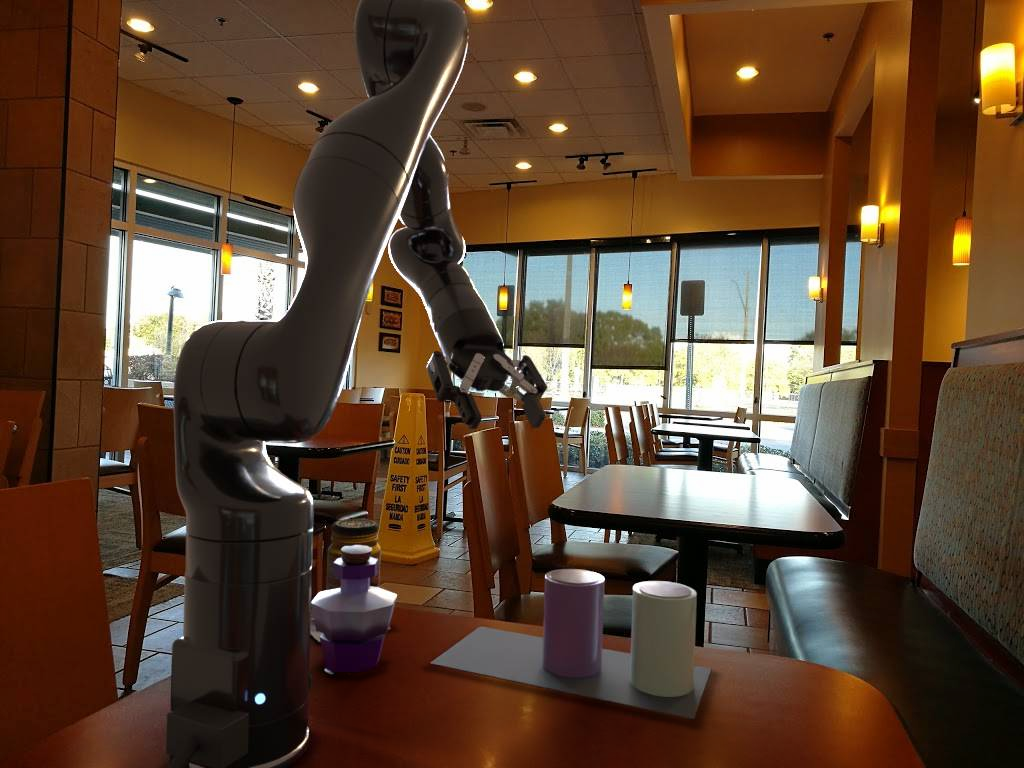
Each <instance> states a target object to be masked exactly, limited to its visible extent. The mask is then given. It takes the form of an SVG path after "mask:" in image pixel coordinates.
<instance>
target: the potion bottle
mask: <svg viewBox="0 0 1024 768" xmlns="http://www.w3.org/2000/svg"><path fill="white" fill-rule="evenodd" d="M371 553H372V548H371V547H368V546H363V545H353V546H344V547H342V549H341V558H337V559H336V561H335V562H334V567H333V575H334V576H336V577H339V578H341V587H340V588H337V589H332V590H328V591H327V590H323V591H318V593H317V594H316V596H315V597H314V598H313V599H311V613H312V618H314V622H315V627H316V632H318V631H319V632H322V635H321V636H320V646H321V650H322V656H323V661H324V665H325V668H324V672H325V673H328V674H329V675H330V676H332V675H333V674H335V673H337V672H339V673H361V672H364V671H367V670H369V669H373V668H376V667H377V666H378V664H379V661H380V659H381V654H382V650H383V647H384V642H385V638H386V635H387V633H388V631H389V630H390V629H389V627H390V628H391V622H392V618H393V614H394V610H395V606H396V603H397V598H398V594H397V593H395V592H392V591H390V590H387V589H385V588H381V587H380V588H379V587H372V586H370V577H374V576H375V575H376V573H377V572H378V559H375V558H372V557H370V556H371ZM388 629H389V630H388Z"/></svg>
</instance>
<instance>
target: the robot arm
mask: <svg viewBox="0 0 1024 768" xmlns="http://www.w3.org/2000/svg"><path fill="white" fill-rule="evenodd" d="M467 19H468V18H467V15H466V13H465V11H464V10H463V8H462V6H460V4H458V3H457V2H456V1H455V0H359V2H358V5H357V8H356V12H355V18H354V24H353V26H354V27H353V43H354V50H355V57H356V61H357V66H358V69H359V74H360V76H361V77H360V78H361V80H362V84H363V86H364V90H365V92H366V95H367V99H365V100H364V101H362V102H360V103H358V104H357V105H355V106H353V107H352V108H349V109H348V110H346V111H345V112H343V113H341V115H339V116H338V117H336V118H335V119H333V120H332V121H331V122H330V123H329V124H328V125H327V126H326V127H325V128H324V129H323V131H321V133H320V134H319V135H318V136H317V139H316V141H315V142H314V143H313V146H312V148H311V150H310V153H309V154H308V156H307V158H306V160H305V163H304V164H303V166H302V169H301V170H300V171H299V174H298V177H297V179H296V181H295V183H294V184H295V185H294V188H293V193H292V207H293V208H292V209H293V216H294V221H295V225H296V230H297V232H298V236H299V239H300V243H301V246H302V250H303V253H304V257H305V269H304V272H303V275H302V278H301V282H300V284H299V286H298V289H297V291H296V294H295V296H294V298H293V300H292V302H291V304H290V305H289V307H288V310H287V311H286V312H285V314H284V315H283V316H282V317H281V318H279V319H278V320H217V321H216V320H215V321H211V322H207V323H205V324H202V325H201V326H199V327H197V328H196V329H195V330H193V332H192V333H191V334H190V335H189V336H188V337H187V338H186V341H185V342H184V344H183V346H182V348H181V350H180V354H179V356H178V359H177V361H176V362H177V363H176V366H175V373H174V379H173V429H174V431H173V433H174V458H175V459H174V460H175V461H174V463H175V466H174V467H175V483H176V489H177V494H178V497H179V500H180V503H181V504H182V507H183V510H184V512H185V555H184V556H185V558H184V559H185V561H184V589H183V590H184V591H183V593H184V594H183V629H182V630H183V631H182V632H183V633H182V637H179V638H176V639H174V641H173V642H172V644H171V666H170V667H171V670H170V671H171V672H170V673H171V674H170V707H169V708H170V710H169V712H168V713H166V741H165V742H166V743H165V746H166V747H165V751H166V752H165V753H166V754H167V755H168V765H167V766H166V768H288V767H291V766H292V765H293V764H295V763H296V762H297V761H298V760H300V759H301V757H303V755H304V754H305V753H306V751H307V749H308V747H309V739H310V738H309V737H310V736H309V735H310V729H309V723H308V722H309V697H310V696H309V695H310V694H309V693H310V692H309V691H311V692H312V691H313V675H312V674H311V673H310V655H311V654H310V652H311V634H310V623H311V618H312V607H311V601H312V588H313V587H312V585H313V584H312V582H313V579H312V578H313V559H314V558H313V555H314V553H313V552H314V551H313V550H314V520H315V519H314V518H315V516H314V515H315V514H314V513H315V512H314V511H315V505H314V503H315V502H314V497H313V495H312V493H311V492H310V491H309V490H308V489H307V488H306V487H305V486H303V485H301V484H299V483H298V482H296V481H294V480H293V479H291V478H289V477H288V476H287V475H285V474H284V473H282V472H281V470H279V469H278V468H277V466H276V465H274V463H273V462H272V460H271V459H270V458H269V455H268V453H267V452H268V451H267V446H266V443H275V444H299V443H306V442H308V441H310V440H311V439H313V438H315V437H316V436H317V435H319V434H320V432H321V431H322V430H323V429H324V428H325V427H326V426H327V424H328V422H329V421H330V419H331V417H332V415H333V413H334V411H335V409H336V406H337V404H338V402H339V399H340V397H341V393H342V390H343V388H344V384H345V381H346V377H347V374H348V370H349V367H350V363H351V359H352V356H353V352H354V348H355V343H356V339H357V336H358V333H359V328H360V325H361V320H362V316H363V313H364V310H365V307H366V304H367V300H368V297H369V295H370V291H371V289H372V285H373V282H374V279H375V277H376V274H377V271H378V268H379V265H380V263H381V260H382V257H383V254H384V252H385V251H386V247H387V244H388V254H389V258H390V260H391V263H392V264H393V266H394V268H395V269H396V271H397V272H398V273H399V275H400V276H401V277H402V278H403V279H404V280H405V281H406V282H407V283H408V284H409V285H410V286H411V287H412V288H413V289H414V291H416V292H417V293H418V295H419V296H420V297H421V299H422V302H423V305H424V306H425V310H426V311H427V314H428V318H429V320H430V321H429V322H430V325H431V329H432V330H433V333H434V336H435V338H436V340H437V341H438V345H439V348H440V350H441V351H439V350H435V351H433V353H432V355H431V357H430V359H429V361H428V362H427V363H428V364H427V365H426V370H427V373H428V377H429V379H430V382H431V385H432V388H433V391H434V395H435V398H436V400H437V401H438V402H441V403H446V402H447V401H449V402H451V403H452V404H453V405H454V406H455V407H456V409H457V411H458V414H459V415H460V419H461V421H462V422H463V423H464V425H465V426H466V425H467V428H468V429H469V430H476V429H478V427H479V425H480V424H481V422H482V418H483V417H482V413H481V411H480V409H479V406H478V405H477V402H476V400H475V397H474V395H473V393H469V391H470V390H471V389H474V390H475V391H476V392H483V391H491V392H499V393H501V394H502V395H503V396H505V397H506V398H509V399H510V398H513V399H514V400H515V401H517V402H519V404H521V409H522V411H523V413H524V414H525V416H526V419H527V420H528V421H527V422H528V423H529V425H530V427H531V429H539V428H540V427H541V426H542V424H543V422H544V421H545V418H546V415H547V414H546V411H545V410H544V407H543V405H542V404H541V399H542V397H543V396H544V394H545V393H546V391H547V390H548V387H549V386H548V385H547V383H546V382H545V380H544V377H542V375H541V373H540V372H539V369H538V368H537V366H536V365H535V363H534V362H533V359H532V358H531V357H530V356H529V355H527V354H524V355H522V356H521V359H512V358H511V357H510V356H509V355H507V353H506V352H505V347H504V341H503V337H502V335H501V333H500V330H499V329H498V328H497V325H496V323H495V321H494V319H493V317H492V315H491V313H490V311H489V308H488V307H487V305H486V303H485V302H484V300H483V299H482V297H481V296H480V294H479V293H478V291H477V289H476V288H475V285H474V283H473V281H472V279H471V277H470V276H469V274H468V272H467V270H466V269H465V267H463V265H461V264H460V263H461V262H462V261H463V260H464V257H465V253H466V243H465V240H464V237H463V234H462V232H461V230H460V228H459V226H458V224H457V222H456V220H455V218H454V215H453V212H452V209H451V201H450V185H449V173H448V168H447V164H446V161H445V158H444V155H443V153H442V151H441V149H440V148H439V145H438V144H437V143H436V141H435V140H434V139H433V138H432V136H431V132H432V130H433V128H434V126H435V124H436V122H437V120H438V118H439V116H440V115H441V112H442V111H443V109H444V107H445V105H446V103H447V101H448V99H449V98H450V95H451V94H452V92H453V90H454V88H455V85H456V84H457V81H458V79H459V77H460V74H461V72H462V69H463V66H464V63H465V62H464V61H465V60H466V54H467V52H468V51H467V50H468V44H469V26H468V20H467ZM398 219H399V220H400V221H401V223H402V224H403V225H404V226H405V227H402V228H399V229H397V230H395V232H394V233H393V234H392V232H393V230H394V228H395V226H396V224H397V222H398ZM388 241H389V242H388ZM450 372H451V373H452V374H453V375H454V376H456V377H457V378H458V379H460V383H459V385H455V384H454V383H453V382H454V381H453V379H452V377H451V374H450ZM509 377H510V378H511V379H512V382H511V384H510V385H507V382H508V380H509ZM519 388H520V389H522V391H524V393H522V392H521V391H520V390H519Z"/></svg>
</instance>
